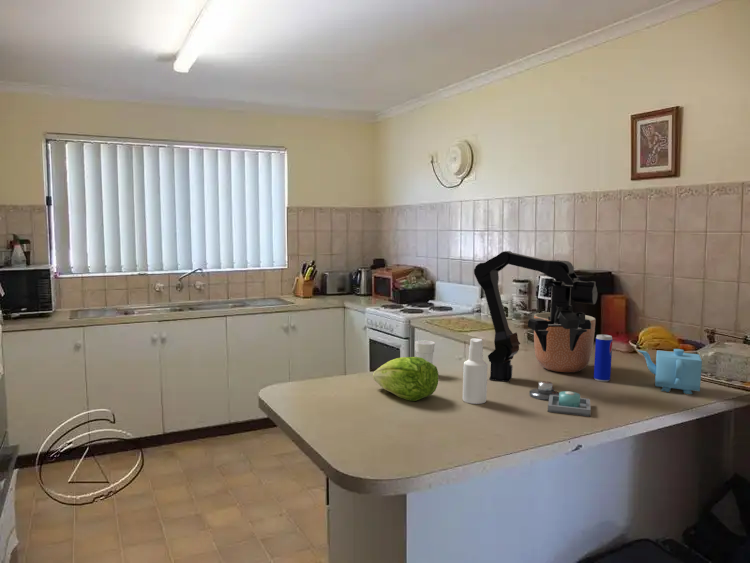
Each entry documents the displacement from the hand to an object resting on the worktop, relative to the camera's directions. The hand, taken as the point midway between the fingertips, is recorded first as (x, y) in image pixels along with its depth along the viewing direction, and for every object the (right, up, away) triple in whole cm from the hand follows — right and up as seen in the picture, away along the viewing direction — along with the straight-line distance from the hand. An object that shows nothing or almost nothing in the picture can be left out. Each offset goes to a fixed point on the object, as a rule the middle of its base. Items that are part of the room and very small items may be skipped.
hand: (558, 351), depth 183 cm
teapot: (+36, -13, +4) cm, 38 cm away
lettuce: (-49, -12, -9) cm, 51 cm away
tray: (-3, -14, -19) cm, 24 cm away
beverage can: (+19, -11, +13) cm, 25 cm away
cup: (-41, -10, +16) cm, 45 cm away
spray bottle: (-28, -13, -13) cm, 34 cm away
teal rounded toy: (-3, -13, -19) cm, 23 cm away
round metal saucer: (-6, -13, -7) cm, 16 cm away
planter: (+10, -10, +27) cm, 31 cm away
